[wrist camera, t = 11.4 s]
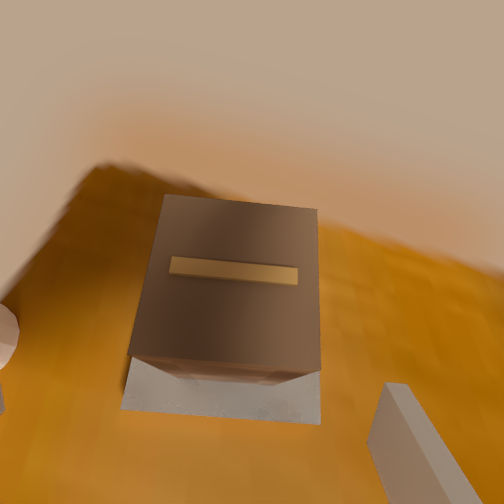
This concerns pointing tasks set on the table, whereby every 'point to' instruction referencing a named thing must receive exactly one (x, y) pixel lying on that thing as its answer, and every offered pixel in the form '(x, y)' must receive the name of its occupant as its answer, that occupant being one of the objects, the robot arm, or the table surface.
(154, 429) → the table surface
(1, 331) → the white cup
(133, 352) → the brown slotted box
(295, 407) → the grey stand base
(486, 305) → the table surface
